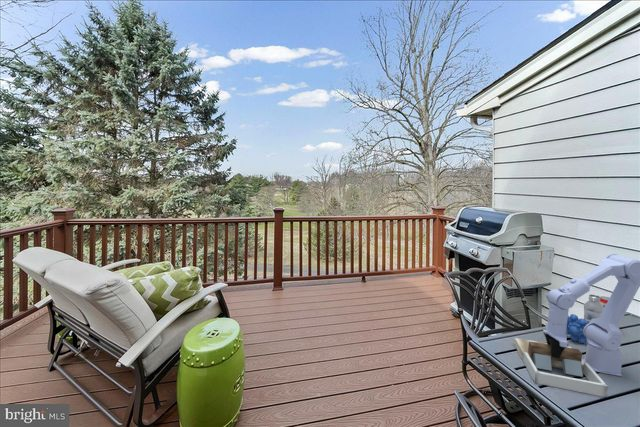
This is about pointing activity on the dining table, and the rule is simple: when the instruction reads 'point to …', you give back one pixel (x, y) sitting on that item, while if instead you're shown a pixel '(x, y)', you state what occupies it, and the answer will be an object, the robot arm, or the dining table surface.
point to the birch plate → (523, 347)
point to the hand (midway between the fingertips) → (553, 354)
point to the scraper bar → (546, 350)
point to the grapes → (576, 328)
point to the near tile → (572, 367)
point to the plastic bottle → (592, 308)
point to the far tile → (542, 361)
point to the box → (568, 379)
